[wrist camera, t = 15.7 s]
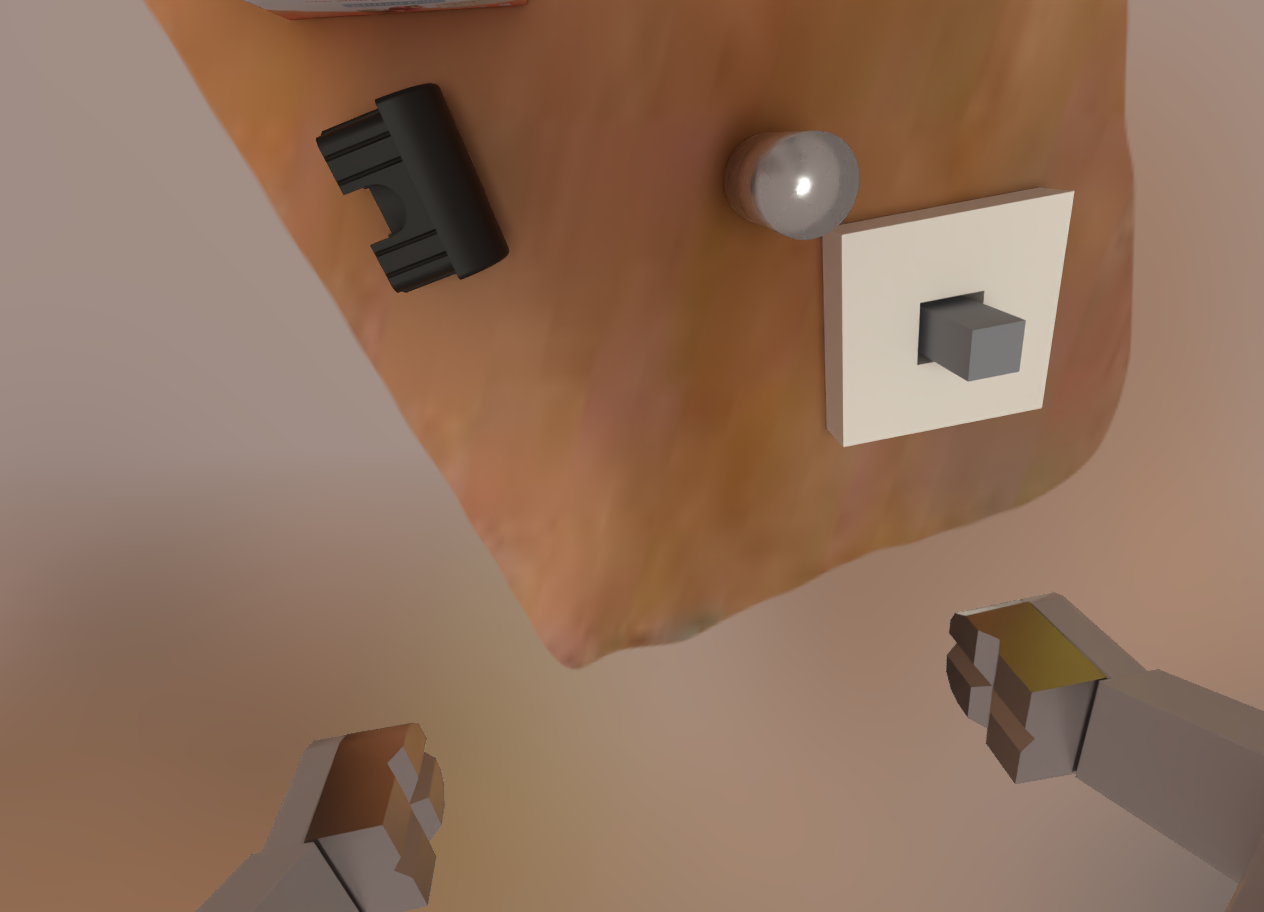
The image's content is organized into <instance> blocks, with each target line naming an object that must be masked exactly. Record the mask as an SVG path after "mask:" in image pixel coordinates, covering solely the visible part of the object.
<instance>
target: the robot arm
mask: <svg viewBox="0 0 1264 912" xmlns="http://www.w3.org/2000/svg"><path fill="white" fill-rule="evenodd" d="M949 634H950V635H951V636H952V637H953V639H954V640H955V641H956V645H955V646H954V647H953V648H952V649H951V651H950V652H949V653H948V654H947V665H946V672H947V676H948V680H949V684H950V688H951V690H952V693H953V695H954V697H955V699H956V700H957V703H958V704H959V705H960V707H961V709H962V710H963V712H964V713H965V715H966V716H967V717H968V718H969V719H971V720H973V721H975V722H976V723H978V724H980V725H982V726H984V727H986V728H987V735H986V744H987V746H988V747H989V748H990V750H991V751H992V752H993V754H994V755H995V757H996V758H997V760H998V761H999V762H1000V764H1001V765H1002V767H1003V768H1004V769H1005V771H1006V772H1007V773H1008V775H1009V776H1010V778H1011V779H1012V780H1013V782H1014V783H1015V784H1019V783H1024V782H1030V781H1036V780H1041V779H1047V778H1053V777H1059V776H1064V775H1070V774H1075V773H1076V776H1075V777H1076V778H1078V779H1079V780H1081V781H1082V782H1084V783H1086V784H1087V785H1088V786H1090V787H1092V788H1093V789H1095V790H1096V791H1098V792H1099V793H1101V794H1102V795H1104V796H1105V797H1107V798H1108V799H1110V800H1112V801H1113V802H1114V803H1116V804H1118V805H1119V806H1121V807H1122V808H1124V809H1125V810H1127V811H1128V812H1130V813H1132V814H1133V815H1134V816H1136V817H1137V818H1139V819H1141V820H1142V821H1143V822H1145V823H1146V824H1148V825H1150V826H1151V827H1153V828H1154V829H1156V830H1157V831H1159V832H1160V833H1162V834H1163V835H1165V836H1166V837H1168V838H1169V839H1171V840H1173V841H1174V842H1175V843H1177V844H1179V845H1180V846H1182V847H1183V848H1185V849H1186V850H1188V851H1189V852H1191V853H1192V854H1194V855H1195V856H1197V857H1199V858H1200V859H1201V860H1203V861H1204V862H1206V863H1208V864H1209V865H1211V866H1212V867H1214V868H1215V869H1217V870H1218V871H1220V872H1221V873H1223V874H1224V875H1226V876H1228V877H1229V878H1230V879H1232V880H1233V881H1235V882H1237V883H1238V885H1237V887H1236V889H1235V891H1234V893H1233V895H1232V897H1231V899H1230V901H1229V903H1228V905H1227V907H1226V910H1225V912H1264V711H1262V710H1259V709H1256V708H1254V707H1252V706H1249V705H1247V704H1244V703H1242V702H1239V701H1237V700H1234V699H1231V698H1229V697H1227V696H1224V695H1222V694H1219V693H1217V692H1214V691H1212V690H1209V689H1206V688H1204V687H1202V686H1199V685H1197V684H1194V683H1191V682H1189V681H1187V680H1184V679H1181V678H1179V677H1177V676H1174V675H1172V674H1169V673H1167V672H1164V671H1161V670H1159V669H1157V670H1151V671H1147V670H1146V669H1145V668H1144V667H1143V666H1141V665H1140V664H1139V663H1138V662H1137V661H1136V660H1135V659H1134V658H1132V657H1131V656H1130V655H1129V654H1128V653H1127V652H1126V651H1125V650H1124V649H1122V648H1121V647H1120V646H1119V645H1118V644H1117V643H1116V642H1115V641H1113V640H1112V639H1111V638H1110V637H1109V636H1108V635H1107V634H1106V633H1104V632H1103V631H1102V630H1101V629H1100V628H1099V627H1098V626H1097V625H1095V624H1094V623H1093V622H1092V621H1091V620H1090V619H1089V618H1088V617H1086V616H1085V615H1084V614H1083V613H1082V612H1081V611H1080V610H1079V609H1078V608H1076V607H1075V606H1074V605H1073V604H1072V603H1071V602H1070V601H1068V600H1067V599H1066V598H1065V597H1064V596H1062V595H1060V594H1057V593H1054V592H1053V593H1048V594H1043V595H1038V596H1034V597H1029V598H1025V599H1020V600H1014V601H1009V602H1005V603H1000V604H995V605H990V606H986V607H981V608H976V609H971V610H967V611H962V612H957V613H955V614H954V616H953V617H952V619H951V620H950V629H949ZM426 739H427V738H426V736H425V734H424V732H423V730H422V728H421V727H420V724H419V723H409V724H403V725H398V726H392V727H385V728H380V729H374V730H368V731H362V732H357V733H351V734H347V735H343V736H338V737H332V738H326V739H320V740H315V741H313V742H312V743H311V744H310V745H309V746H308V747H307V748H306V749H305V751H304V752H303V755H302V758H301V760H300V762H299V764H298V767H297V769H296V772H295V774H294V777H293V779H292V781H291V784H290V786H289V788H288V791H287V793H286V795H285V798H284V800H283V803H282V805H281V808H280V810H279V812H278V815H277V817H276V819H275V822H274V824H273V827H272V829H271V832H270V834H269V836H268V838H267V841H266V843H265V846H264V848H263V850H262V852H260V853H255V854H251V855H250V856H249V857H248V858H247V859H246V860H245V861H244V862H243V863H242V864H241V865H240V866H239V867H238V868H237V869H236V871H235V872H233V873H232V875H230V876H229V878H228V879H227V880H226V881H225V882H224V883H223V884H222V885H221V886H220V887H219V888H218V889H217V890H216V891H215V892H214V893H213V894H212V895H211V896H210V897H209V898H208V899H207V900H206V901H205V902H204V903H203V904H202V905H201V906H200V907H199V908H198V909H197V910H196V912H404V911H408V910H412V909H416V908H421V907H425V906H428V901H429V896H430V890H431V884H432V879H433V873H434V867H435V861H436V855H435V853H434V851H433V849H432V847H431V844H430V842H429V841H430V840H431V839H432V837H433V836H434V835H435V833H436V832H437V831H438V829H439V828H440V827H441V825H442V819H443V813H444V806H445V804H444V803H445V802H444V782H443V777H442V773H441V769H440V766H439V764H438V762H437V760H436V758H435V757H433V756H431V755H429V754H427V753H425V752H424V749H425V744H426Z"/></svg>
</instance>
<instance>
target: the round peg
mask: <svg viewBox="0 0 1264 912" xmlns="http://www.w3.org/2000/svg"><path fill="white" fill-rule="evenodd" d="M723 186H724V192H725V196H726V198H727V201H728V203H729V204H730V206H731V207H732V209H733V210H734V211H735V212H736V213H737V214H738V215H740V216H741V217H743V218H745V219H747V220H750V221H752V222H754V223H757V224H759V225H761V226H764V227H766V228H768V229H771V230H773V231H775V232H778V233H780V234H782V235H785V236H787V237H790V238H793V239H798V240H809V239H814V238H818V237H821V236H823V235H825V234H827V233H829V232H830V231H832V230H833V229H835V228H836V227H837V226H838V225H839V224H840V223H841V222H842V221H843V220H844V219H845V218H846V216H847V215H848V213H849V212H850V210H851V208H852V206H853V204H854V202H855V199H856V196H857V193H858V188H859V169H858V164H857V161H856V158H855V156H854V153H853V151H852V150H851V149H850V147H849V146H848V145H847V144H846V142H845V141H843V140H842V139H841V138H839V137H838V136H836V135H834V134H831V133H829V132H824V131H793V132H764V133H758V134H755V135H752V136H750V137H748V138H747V139H745V140H744V141H742V142H741V143H740V144H739V145H738V146H737V147H736V148H735V149H734V151H733V152H732V154H731V155H730V157H729V159H728V161H727V164H726V167H725V171H724V177H723Z"/></svg>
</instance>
